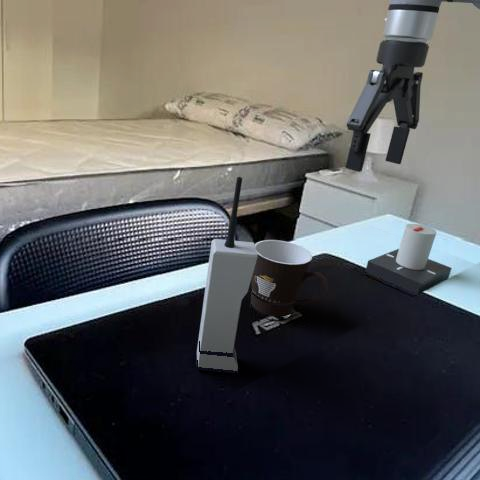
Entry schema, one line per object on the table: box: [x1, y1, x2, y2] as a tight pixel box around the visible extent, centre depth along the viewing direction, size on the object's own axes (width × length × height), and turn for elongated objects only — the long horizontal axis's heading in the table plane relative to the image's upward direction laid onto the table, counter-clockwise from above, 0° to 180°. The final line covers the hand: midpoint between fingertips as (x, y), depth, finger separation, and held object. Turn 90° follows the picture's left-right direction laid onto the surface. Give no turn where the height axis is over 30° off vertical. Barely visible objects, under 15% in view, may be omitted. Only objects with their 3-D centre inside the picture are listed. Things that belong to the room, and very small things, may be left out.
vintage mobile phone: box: [196, 176, 258, 372], centre depth 59 cm, size 4×5×25 cm
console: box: [364, 248, 453, 296], centre depth 92 cm, size 10×12×3 cm
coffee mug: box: [250, 239, 330, 316], centre depth 75 cm, size 12×9×10 cm
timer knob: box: [396, 223, 437, 270], centre depth 90 cm, size 5×5×7 cm
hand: (373, 166), depth 91 cm, fingers open, 13 cm apart
